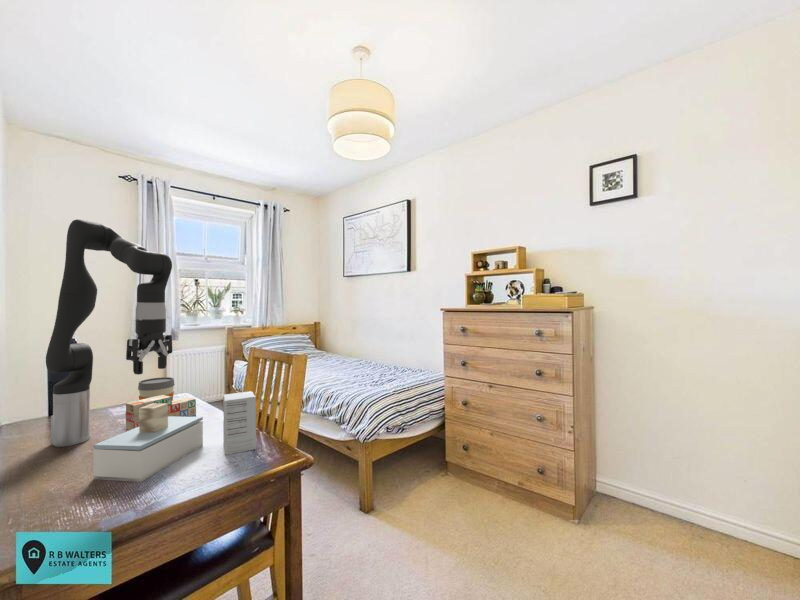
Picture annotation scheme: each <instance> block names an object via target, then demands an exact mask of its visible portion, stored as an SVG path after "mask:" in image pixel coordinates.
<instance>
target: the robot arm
mask: <svg viewBox="0 0 800 600" xmlns="http://www.w3.org/2000/svg"><path fill="white" fill-rule="evenodd" d="M85 250H91V251H96V252H97V251H98V252H100V251H104V252H109V253H110V255H111V256H112V257H113V258H114V259H115V260H117V261H119V262H121V263H123V264H124V265H126V266H127V267H128V268H129V269H130V270H131V272H133V273H136V274H138V275H148V276H149V275H150V276H152V278H151V279H150V281H147V282H142V283H139V284H138V285H137V287H136V307H135V330H134V331H135V333H136V334H137V338H128V339H127V340H126V353H125V354H126V355H125V359H126V361H132V363H133V364H132V367H133V368H132V370H133V371H132V372H133V374H134V375H138V376H139V375H142V374H143V373H144V361H143V360H144V358H145V357H146V356H147V355H148V354H149V353H152V352H154V353H156V354H157V356H158V357H157V368H158V369H159V370H161V369H163V370H165V369H166V368H167V363H168V362H167V360H168V359H167V357H168V356H169V355H170V354H172V353H173V336H172V334H164V333H166V331H167V328H166V327H167V326H166V325H167V309H166V289H167V285H168V282H169V278H170V276H171V273H172V270H173V261H172V259H171V257H170V256H169V255H168V254H166V253H165V252H159V251H158V252H156V251H151V250H150V251H148V250H147V249H146V248H145V247H143V246H142V245H140V244H138V243H135V242H134V241H131V240H128V239H126V237H125V238H124V237H123V236H122V235H120V234H119V233H118V232H117V231H116V230H114V229H113V228H112V227H110V226H108V225H107V224H103V223H98V222H94V221H88V220H84V219H74V220H72V221H71V222H70V224H69V226H68V229H67V234H66V245H65V260H64V261H65V262H64V270H63V276H62V281H61V286H60V291H59V296H58V302H57V303H58V304H57V310H56V315H55V321H54V326H53V329H52V334H51V337H50V340H49V343H48V347H47V350H46V354H45V367H46V369H47V371H49V372H50V373H51V374H63V373H69V374H68V376H66V377H65V378H63V379H62V380H60V381H58V382H57V383H55V384H54V385H53V387H52V415H51V416H50V445H52V446H53V447H57V448H58V447H59V448H61V447H62V448H63V447H68V446H74V445H78V444H81V443H85V442H87V441H88V440H90V439H91V428H90V427H91V417H90V416H91V414H90V413H91V412H90V411H91V407H90V404H91V403H90V402H91V401H90V399H91V398H90V395H91V394H90V393H91V391H90V388H91V387H90V386H91V382H92V380H93V366H94V353H93V350H92V348H91V346H90V345H89V344H87V343H83V342H81V343H72V340H73V337H74V335H75V333H76V331H78V328H79V327H80V326H81V325H82V324H83V323H84V322H85V321H86V320H87V319H88V318H89V317H90V315H92V313H93V311H94V309H95V307H96V304H97V303H96V301H97V296H98V287H97V284H96V282H95V281H94V279H93V278H92V275H91V274H90V272H89V270H88V269H87V266H86V263H85Z"/></svg>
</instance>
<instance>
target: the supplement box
mask: <svg viewBox="0 0 800 600" xmlns="http://www.w3.org/2000/svg"><path fill="white" fill-rule="evenodd" d="M256 397H257V396H256V395H255V394H254V392H253V391H243V392H234V393H233V392H232V393H227V394H223V395H222V401H223V403H222V404H223V405H222V407H223V410H222V411H223V429H222V430H223V431H222V432H223V451H224V455H225V456H228V455H233V454H239V453H242V452H244V453H245V452H248V450H249V451H254V450H253V449H255V450H257V398H256Z"/></svg>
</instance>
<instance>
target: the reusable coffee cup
mask: <svg viewBox="0 0 800 600" xmlns="http://www.w3.org/2000/svg"><path fill="white" fill-rule="evenodd" d="M174 386H175V379H174V377H171V376H169V377H168V376H166V377H165V376H164V377H163V376H162V377H161V376H160V377H152V378H146V379H141V380H140V381H139V382H138V385H137V390H138V391H139V396H138V400H142V399H146V398H150V397H155V396H160V395H165V396H171V397H172V400H174V394H175V392H174Z"/></svg>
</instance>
